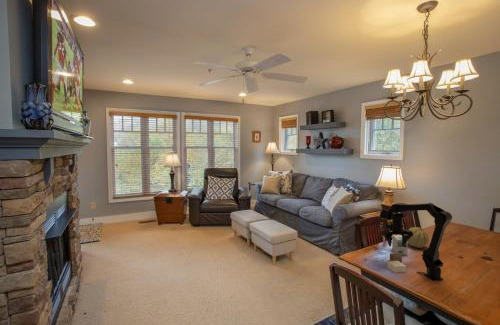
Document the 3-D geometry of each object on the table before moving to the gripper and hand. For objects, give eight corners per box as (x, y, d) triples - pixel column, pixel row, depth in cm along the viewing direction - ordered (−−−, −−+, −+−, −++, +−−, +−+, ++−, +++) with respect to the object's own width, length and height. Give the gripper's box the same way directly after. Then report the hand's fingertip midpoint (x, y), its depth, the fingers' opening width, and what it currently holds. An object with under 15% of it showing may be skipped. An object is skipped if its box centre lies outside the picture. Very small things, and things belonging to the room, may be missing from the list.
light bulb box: (407, 255, 174) (408, 240, 173) (396, 254, 175) (397, 239, 175) (401, 249, 185) (402, 234, 184) (391, 248, 186) (392, 234, 185)
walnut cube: (401, 263, 163) (402, 256, 162) (394, 264, 162) (394, 256, 162) (396, 260, 168) (396, 252, 167) (389, 260, 167) (389, 253, 167)
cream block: (405, 272, 152) (405, 266, 152) (394, 272, 152) (394, 266, 151) (398, 266, 159) (398, 260, 159) (387, 267, 159) (387, 261, 158)
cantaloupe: (408, 241, 199) (408, 222, 198) (430, 246, 189) (431, 227, 188) (402, 246, 189) (403, 227, 188) (426, 252, 179) (427, 232, 177)
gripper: (402, 218, 172) (401, 240, 173) (376, 219, 170) (375, 242, 171) (414, 223, 161) (413, 247, 162) (386, 224, 159) (385, 248, 160)
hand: (396, 246), depth 164 cm, fingers open, 9 cm apart
